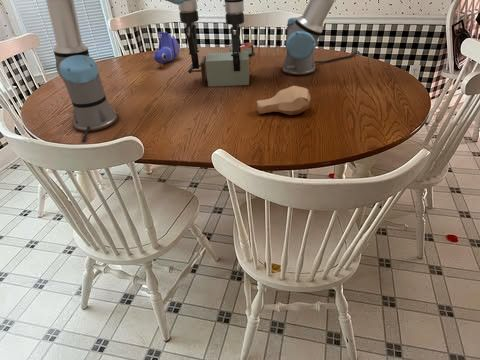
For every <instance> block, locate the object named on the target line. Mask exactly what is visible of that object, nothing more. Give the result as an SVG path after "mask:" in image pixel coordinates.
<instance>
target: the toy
mask: <svg viewBox="0 0 480 360" xmlns="http://www.w3.org/2000/svg"><path fill="white" fill-rule="evenodd" d="M157 34H158V35H161V36H159V40H158V49H157V51H156V50H154V53H153V55H152V58H153V60H154V61H155V62H156V63H158V64H160V67H161V69H163V68H164V64H166V63H169V62H172V61H173V60H175V59H176V58H177V57H179V54H180V45H179V41H178V40H177V38H176V37H175V36H174V35H172V36H171V35H170V34H169V33H168V31H164V32H163V31H158V32H157Z"/></svg>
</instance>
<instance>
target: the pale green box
mask: <svg viewBox="0 0 480 360" xmlns="http://www.w3.org/2000/svg"><path fill="white" fill-rule="evenodd" d="M234 53H237V52H234ZM231 54H233V52H229V51H227V52H226V51H225V52H224V51H223V52H208V53H207V56H206V61H205V63H206V72H207V80H206V82H207V87H229V86H231V87H233V86H250V58H249V57H250V55H249V53H248V51H247V52H239V58H240V71H234V66H233V56H231Z"/></svg>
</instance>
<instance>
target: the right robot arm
mask: <svg viewBox="0 0 480 360" xmlns="http://www.w3.org/2000/svg"><path fill="white" fill-rule="evenodd" d="M335 1H336V0H309V1H308V4H307V5H306V8H305V9H304V11H303V14H302V15H301V16H298V17H289V18H288V19H287V23H286V28H287V29H286V31H287V32H286V40H285V49H286V54H285V57H284V61H283V64H282V70H281V71H282V72H283V73H284V74H285V75H290V76H307V75H311V74H313V73H315V72H316V64H324V63H330V62H333V61H336V60H342V59H348V58H351V57H354V56H355V55H356V54H359V55H360V54H361V52H360V51H359V50H356V51H354V52H353V53H352V54H349V55H345V56H340V57H336V58H331V59H328V60H315V59H314V58H315V57H314V55H313V54H314V52H315V50H316V45H317V43H318V40H319V39H320V37H321V35H322V34H323V28H322V25H323V23H324V21H325V20H326V18H327V16H328V14H329V12H330V11H331V9H332V7H333V5H334V3H335ZM223 8H224V11H225V23H226V24H227V25H229V26H230V25H231V27H230V35H231V36H230V37H231V38H230V39H231V45H232V52H233V54H231V56H233V66H234V71H240V58H239V52H241V47H243V45H242V43H241V26H240V25H242V24H244V23H245V13H244V11H245V4H244V0H224V4H223ZM239 46H240V47H239ZM234 52H237V53H234Z"/></svg>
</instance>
